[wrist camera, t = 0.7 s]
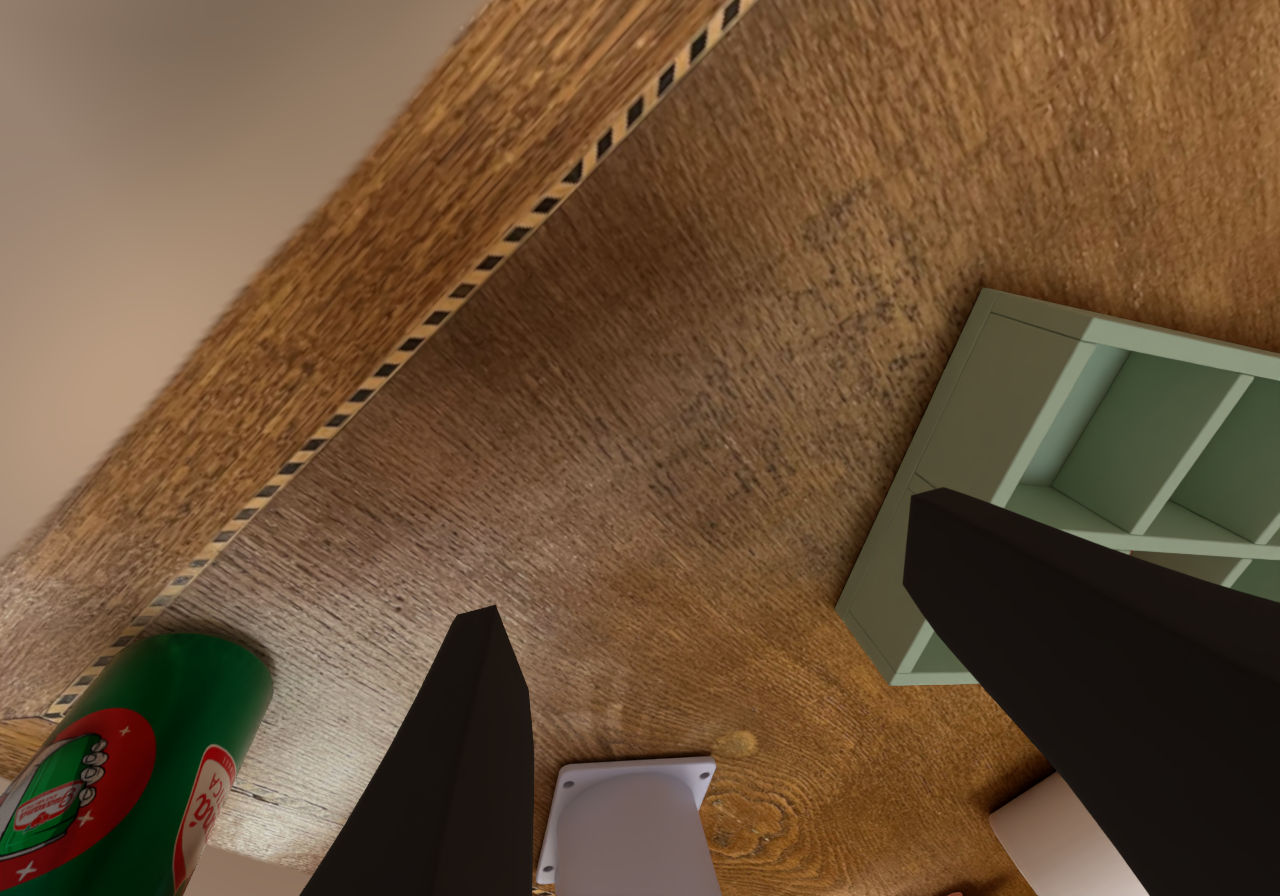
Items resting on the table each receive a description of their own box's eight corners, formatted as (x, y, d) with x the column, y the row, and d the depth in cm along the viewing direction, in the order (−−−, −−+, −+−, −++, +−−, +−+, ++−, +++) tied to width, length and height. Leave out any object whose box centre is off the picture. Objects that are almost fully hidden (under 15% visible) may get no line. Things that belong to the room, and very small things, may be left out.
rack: (1164, 616, 31) (1253, 678, 27) (833, 609, 25) (888, 686, 22) (1358, 371, 25) (1505, 407, 21) (981, 286, 19) (1094, 316, 16)
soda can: (249, 733, 22) (7, 1258, 11) (95, 700, 20) (-376, 1307, 9) (301, 646, 20) (80, 1153, 10) (142, 601, 18) (-349, 1182, 8)
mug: (969, 801, 37) (1076, 951, 30) (1100, 714, 35) (1246, 852, 28) (1029, 848, 42) (1131, 984, 35) (1145, 775, 40) (1276, 903, 33)
